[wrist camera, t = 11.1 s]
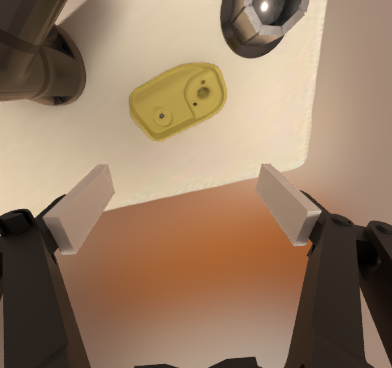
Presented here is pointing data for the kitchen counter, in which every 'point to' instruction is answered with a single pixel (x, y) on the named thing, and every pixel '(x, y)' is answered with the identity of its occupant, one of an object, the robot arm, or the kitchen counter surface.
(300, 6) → the collar
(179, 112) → the plastic component
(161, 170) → the kitchen counter surface
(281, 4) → the duct stub
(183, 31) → the kitchen counter surface
